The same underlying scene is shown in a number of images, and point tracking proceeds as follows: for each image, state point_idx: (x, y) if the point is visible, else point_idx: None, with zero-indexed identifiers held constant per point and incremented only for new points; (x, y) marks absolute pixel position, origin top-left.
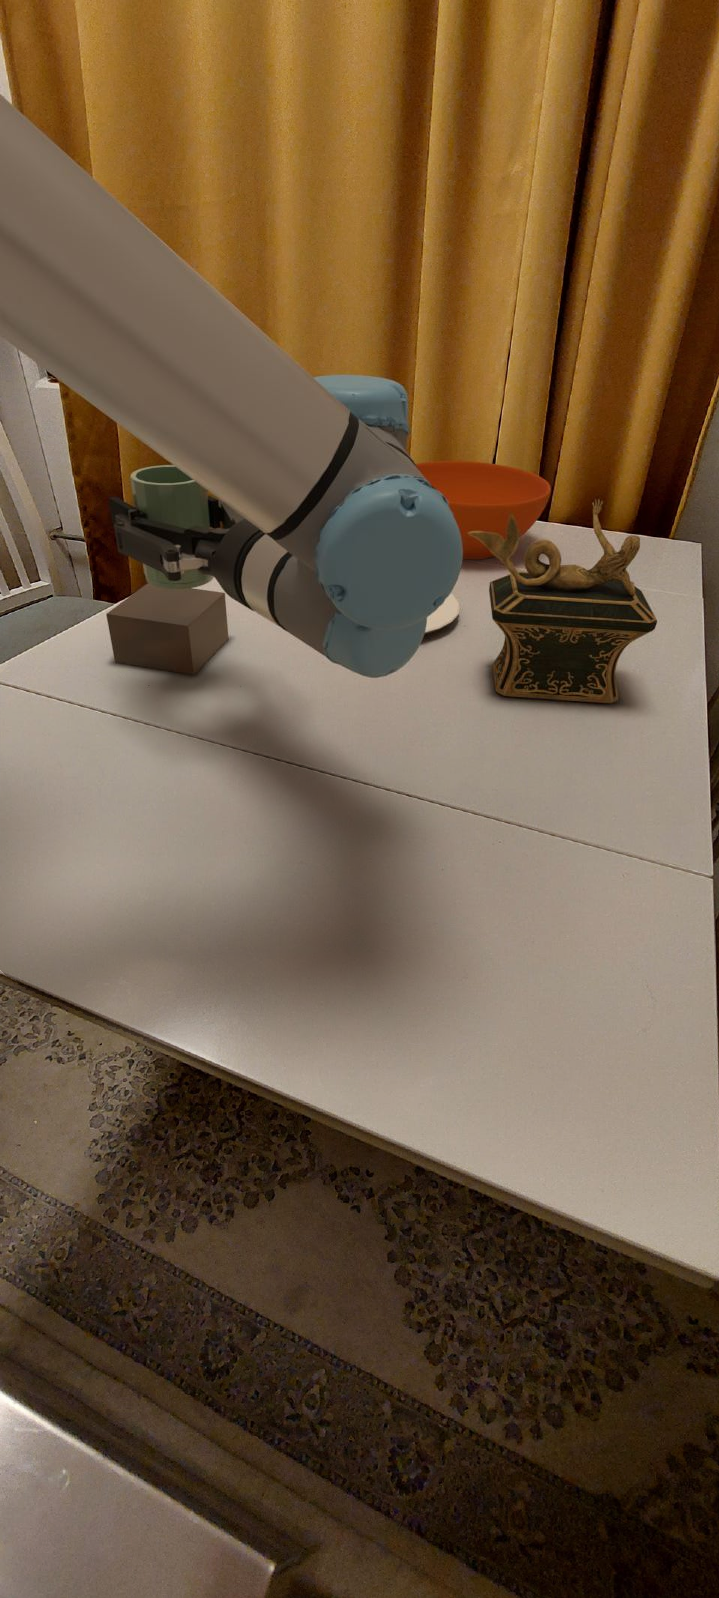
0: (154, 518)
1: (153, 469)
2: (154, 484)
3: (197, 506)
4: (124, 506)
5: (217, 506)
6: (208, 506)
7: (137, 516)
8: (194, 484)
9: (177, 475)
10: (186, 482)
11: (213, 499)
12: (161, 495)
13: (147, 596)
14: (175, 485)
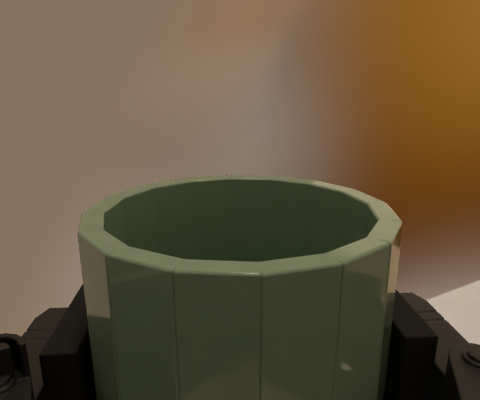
0: (105, 385)
1: (230, 184)
2: (98, 250)
3: (310, 390)
4: (83, 287)
5: (428, 361)
6: (383, 363)
7: (9, 373)
8: (309, 284)
9: (304, 211)
10: (260, 268)
11: (416, 328)
12: (119, 309)
13: None
14: (185, 278)
